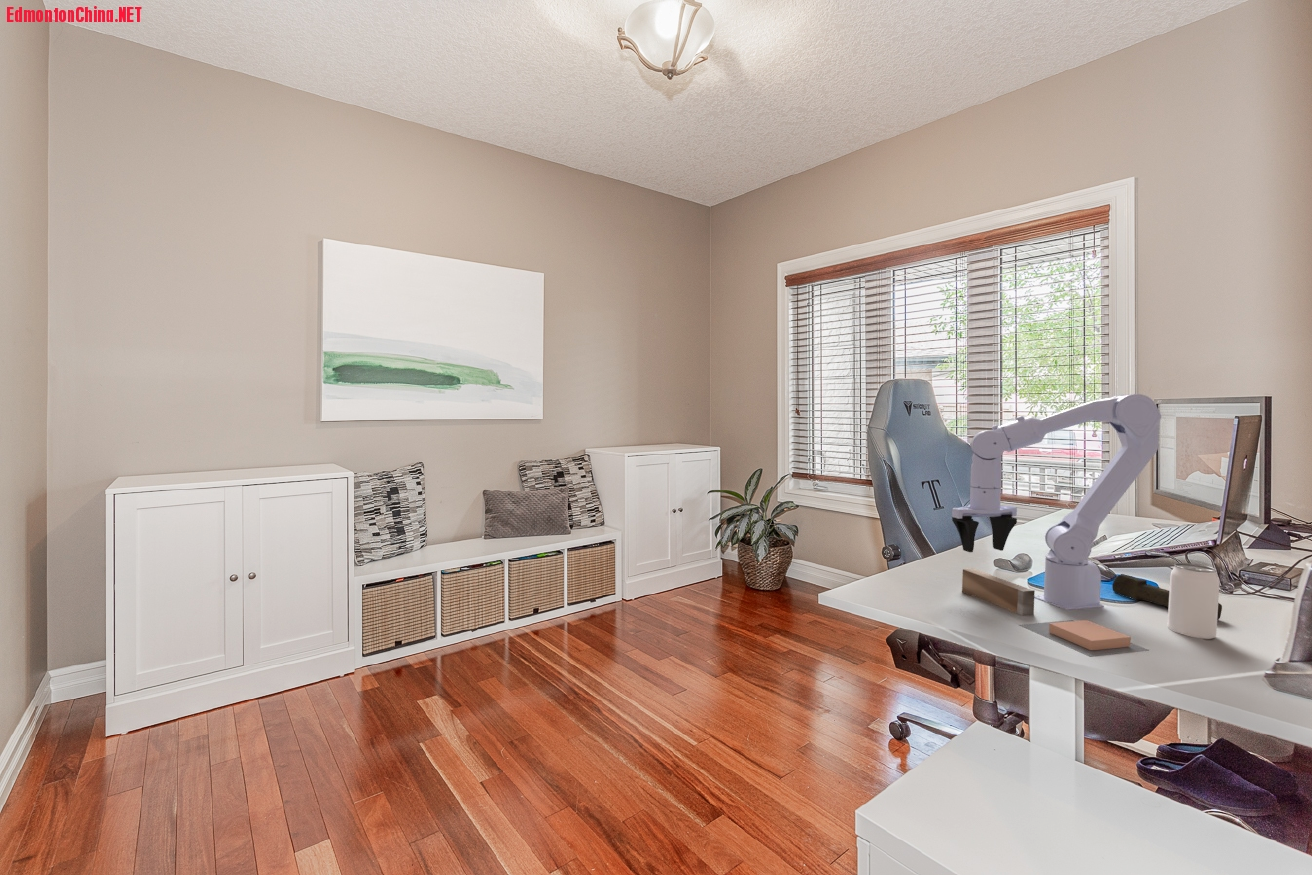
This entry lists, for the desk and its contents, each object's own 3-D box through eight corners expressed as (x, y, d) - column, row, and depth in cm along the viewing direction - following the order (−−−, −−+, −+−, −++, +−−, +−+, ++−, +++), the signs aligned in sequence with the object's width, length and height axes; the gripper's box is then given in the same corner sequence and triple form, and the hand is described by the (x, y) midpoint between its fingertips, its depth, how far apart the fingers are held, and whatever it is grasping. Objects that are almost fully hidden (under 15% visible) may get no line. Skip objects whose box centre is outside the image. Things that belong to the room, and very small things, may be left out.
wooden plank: (972, 591, 130) (972, 568, 130) (1033, 616, 115) (1034, 590, 114) (961, 592, 130) (962, 568, 129) (1022, 617, 114) (1023, 591, 114)
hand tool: (1223, 622, 113) (1225, 598, 113) (1208, 624, 112) (1210, 599, 112) (1122, 591, 132) (1123, 571, 131) (1108, 593, 130) (1109, 572, 130)
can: (1220, 643, 102) (1224, 574, 102) (1171, 635, 106) (1175, 568, 105) (1210, 631, 108) (1214, 565, 107) (1164, 624, 111) (1167, 560, 110)
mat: (1072, 622, 112) (1072, 619, 112) (1149, 652, 98) (1149, 649, 98) (1018, 626, 109) (1018, 624, 109) (1089, 658, 96) (1090, 656, 96)
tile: (1086, 619, 107) (1130, 636, 99) (1085, 629, 107) (1130, 647, 99) (1049, 623, 105) (1091, 640, 97) (1048, 633, 105) (1091, 651, 97)
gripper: (999, 483, 133) (997, 544, 133) (942, 485, 129) (940, 547, 130) (1025, 488, 126) (1023, 552, 127) (966, 490, 123) (964, 555, 123)
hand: (983, 550), depth 128 cm, fingers open, 7 cm apart
